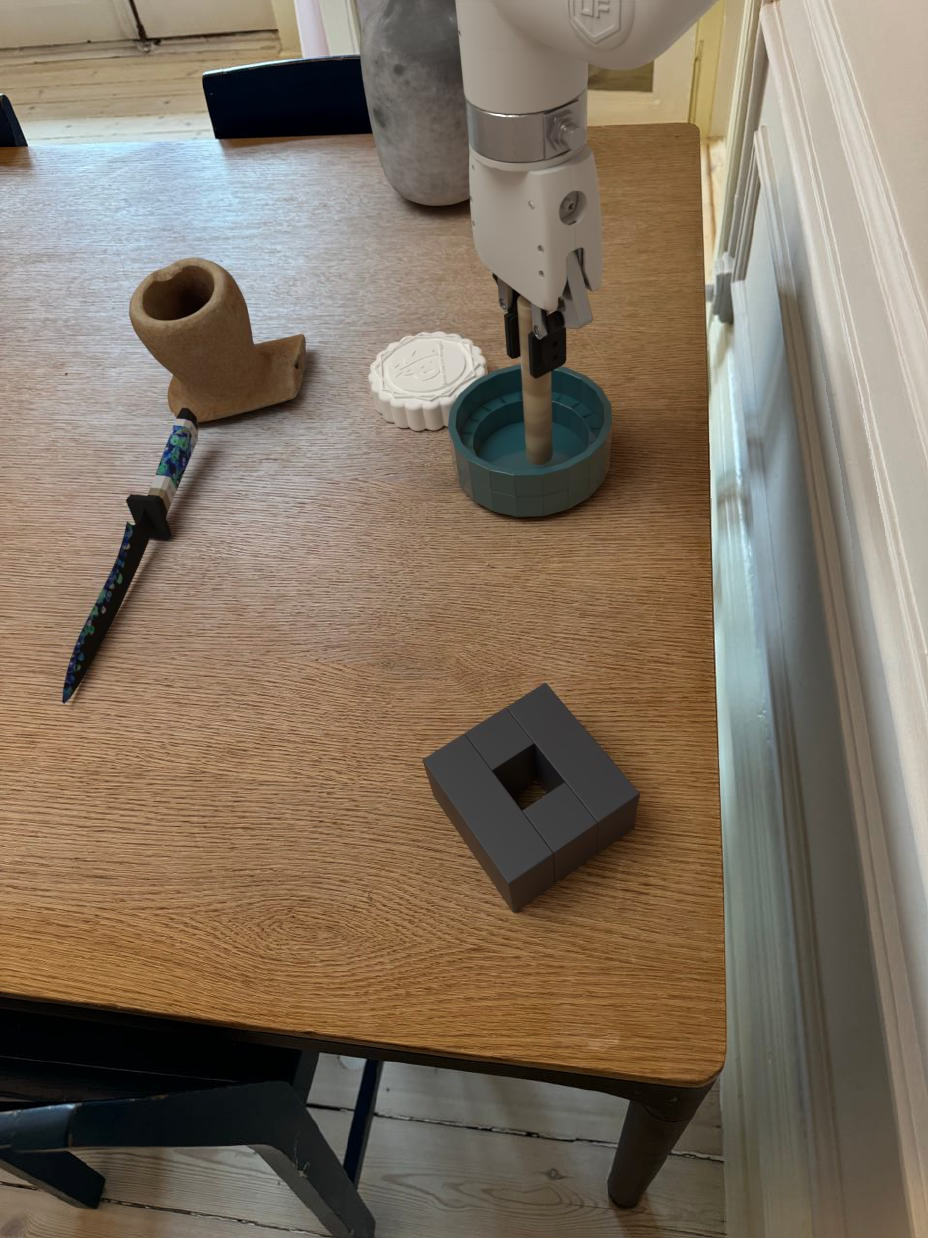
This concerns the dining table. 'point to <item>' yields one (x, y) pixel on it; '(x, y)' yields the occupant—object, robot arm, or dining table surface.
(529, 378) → the stick
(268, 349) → the brown hollow clay piece
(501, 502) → the bowl
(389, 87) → the vase
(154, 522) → the knife
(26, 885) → the dining table surface
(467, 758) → the holder
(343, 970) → the dining table surface
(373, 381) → the mooncake
